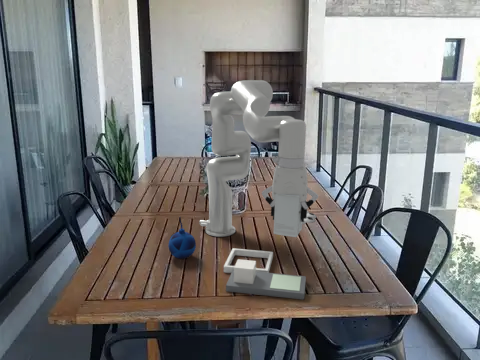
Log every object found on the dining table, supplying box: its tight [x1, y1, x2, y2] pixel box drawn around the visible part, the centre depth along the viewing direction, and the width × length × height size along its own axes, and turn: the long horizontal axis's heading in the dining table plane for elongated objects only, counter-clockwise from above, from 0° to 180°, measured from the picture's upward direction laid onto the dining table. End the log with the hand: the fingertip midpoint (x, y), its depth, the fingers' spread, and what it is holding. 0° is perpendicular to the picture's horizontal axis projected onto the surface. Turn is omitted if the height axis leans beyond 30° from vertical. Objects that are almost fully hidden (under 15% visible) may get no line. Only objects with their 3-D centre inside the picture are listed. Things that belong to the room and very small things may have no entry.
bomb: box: [167, 216, 197, 260], centre depth 153 cm, size 10×11×15 cm
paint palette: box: [302, 210, 317, 225], centre depth 197 cm, size 20×20×2 cm
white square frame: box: [223, 247, 274, 274], centre depth 149 cm, size 15×15×2 cm
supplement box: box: [273, 194, 303, 238], centre depth 127 cm, size 7×7×13 cm
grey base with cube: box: [225, 258, 307, 300], centre depth 134 cm, size 24×11×7 cm, turn 79°
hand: (288, 219), depth 127 cm, fingers closed on supplement box, 8 cm apart
